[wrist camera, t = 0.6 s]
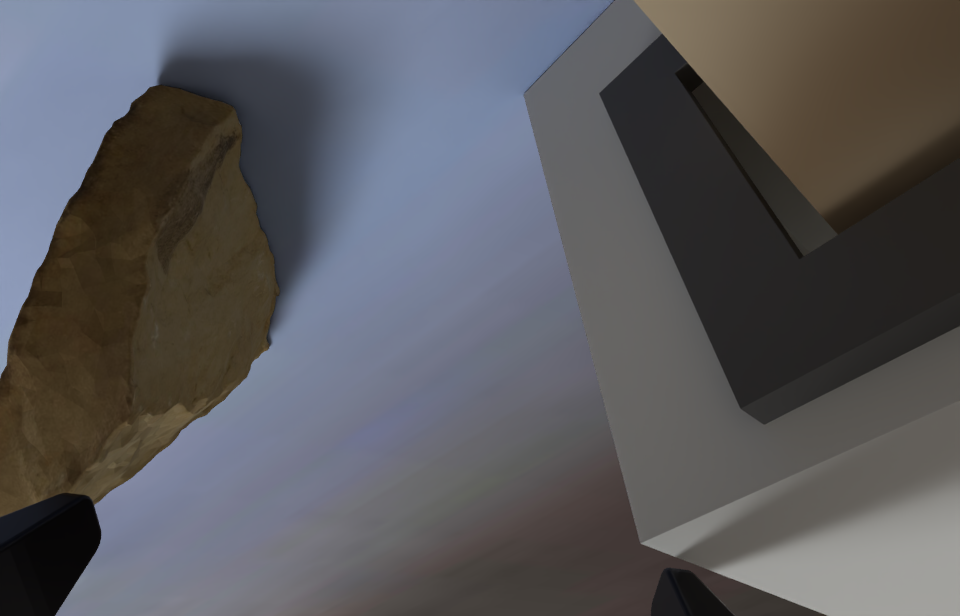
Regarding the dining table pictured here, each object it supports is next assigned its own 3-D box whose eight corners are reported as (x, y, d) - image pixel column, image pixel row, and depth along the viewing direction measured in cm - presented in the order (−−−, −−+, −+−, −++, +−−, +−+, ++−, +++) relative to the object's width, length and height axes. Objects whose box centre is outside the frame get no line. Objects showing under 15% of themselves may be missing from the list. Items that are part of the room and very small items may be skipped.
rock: (12, 2, 13) (-119, 297, 17) (180, 305, 11) (-17, 569, 15) (346, 122, 23) (213, 294, 27) (476, 297, 20) (309, 458, 24)
